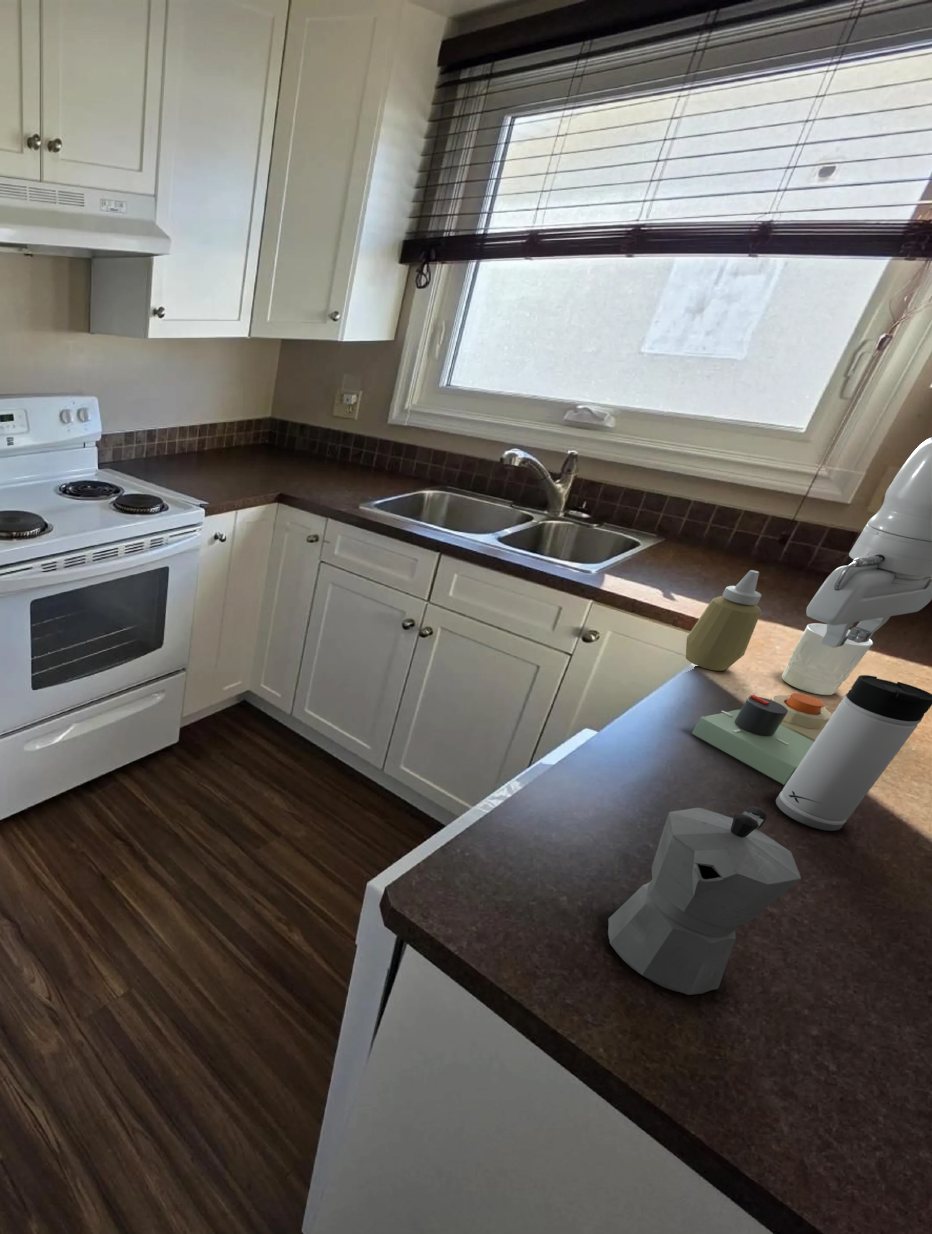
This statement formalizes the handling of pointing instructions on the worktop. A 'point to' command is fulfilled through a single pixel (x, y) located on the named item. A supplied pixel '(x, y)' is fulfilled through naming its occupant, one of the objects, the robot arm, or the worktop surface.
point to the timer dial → (760, 716)
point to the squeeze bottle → (725, 626)
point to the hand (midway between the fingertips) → (843, 642)
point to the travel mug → (852, 751)
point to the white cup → (822, 661)
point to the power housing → (803, 719)
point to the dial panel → (755, 745)
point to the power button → (804, 703)
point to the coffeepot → (700, 897)
